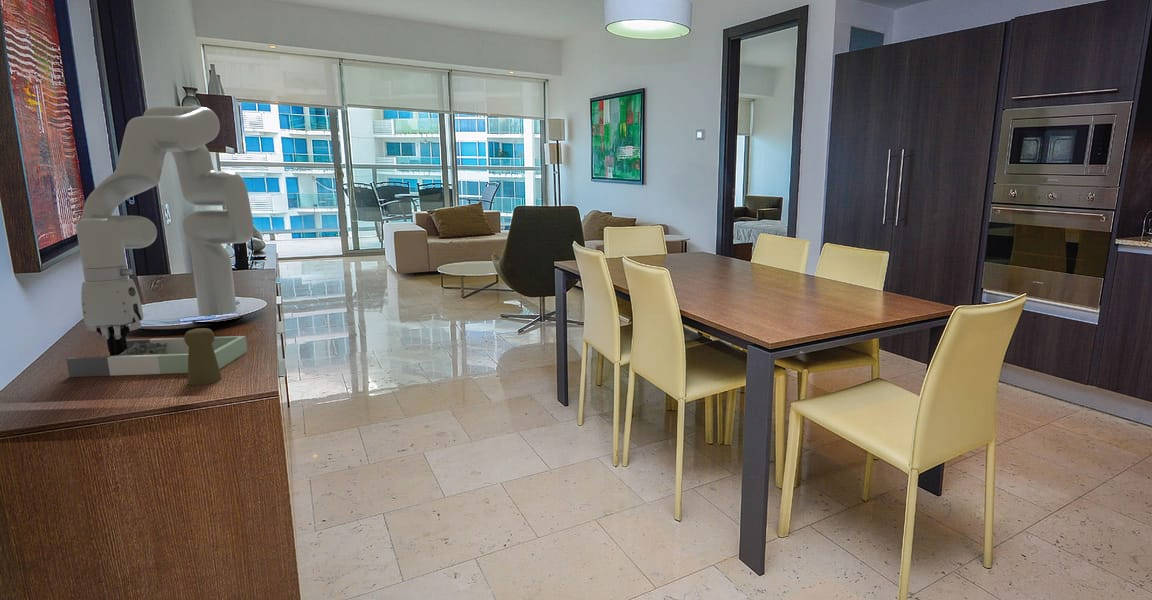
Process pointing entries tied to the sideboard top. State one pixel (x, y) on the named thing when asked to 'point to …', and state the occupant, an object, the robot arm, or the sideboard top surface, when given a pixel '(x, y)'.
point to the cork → (201, 357)
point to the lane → (155, 358)
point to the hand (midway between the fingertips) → (118, 355)
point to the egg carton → (146, 349)
